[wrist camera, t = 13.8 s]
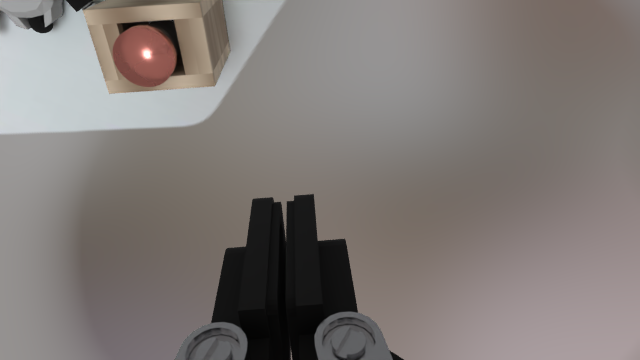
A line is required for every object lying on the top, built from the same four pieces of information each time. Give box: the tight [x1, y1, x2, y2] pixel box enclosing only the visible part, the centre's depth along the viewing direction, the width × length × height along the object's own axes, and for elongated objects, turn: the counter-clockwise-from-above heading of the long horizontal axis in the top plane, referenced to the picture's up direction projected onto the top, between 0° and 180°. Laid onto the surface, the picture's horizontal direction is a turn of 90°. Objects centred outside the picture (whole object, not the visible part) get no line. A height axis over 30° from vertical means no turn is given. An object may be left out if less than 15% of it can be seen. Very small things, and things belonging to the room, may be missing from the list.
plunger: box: [113, 20, 180, 87], centre depth 32 cm, size 4×4×6 cm
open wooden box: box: [83, 0, 230, 94], centre depth 36 cm, size 8×6×10 cm
